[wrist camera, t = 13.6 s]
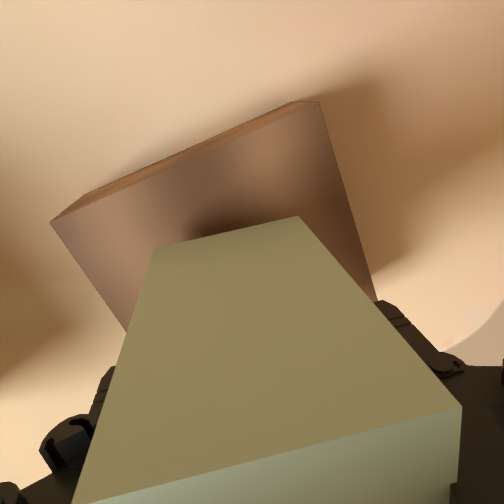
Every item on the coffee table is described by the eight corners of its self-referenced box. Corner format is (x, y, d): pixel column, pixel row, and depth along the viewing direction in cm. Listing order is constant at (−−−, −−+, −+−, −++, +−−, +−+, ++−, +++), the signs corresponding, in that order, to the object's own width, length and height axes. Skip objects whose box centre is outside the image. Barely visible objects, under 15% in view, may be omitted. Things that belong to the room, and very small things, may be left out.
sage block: (192, 363, 17) (181, 677, 8) (153, 248, 14) (70, 508, 5) (315, 333, 17) (448, 602, 8) (298, 215, 15) (462, 407, 5)
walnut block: (185, 352, 24) (182, 411, 19) (85, 193, 19) (49, 222, 15) (350, 283, 24) (385, 326, 19) (289, 101, 19) (318, 102, 14)
